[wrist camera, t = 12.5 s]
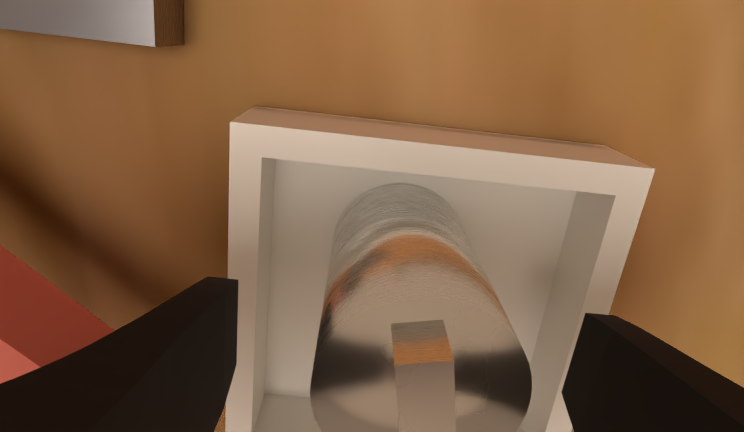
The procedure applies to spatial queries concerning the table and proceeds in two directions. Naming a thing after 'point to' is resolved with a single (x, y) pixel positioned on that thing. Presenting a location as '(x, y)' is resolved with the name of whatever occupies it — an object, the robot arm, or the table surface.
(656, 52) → the table surface
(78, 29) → the grey flat square ring
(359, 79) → the table surface
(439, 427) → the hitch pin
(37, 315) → the bar
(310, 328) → the tray
